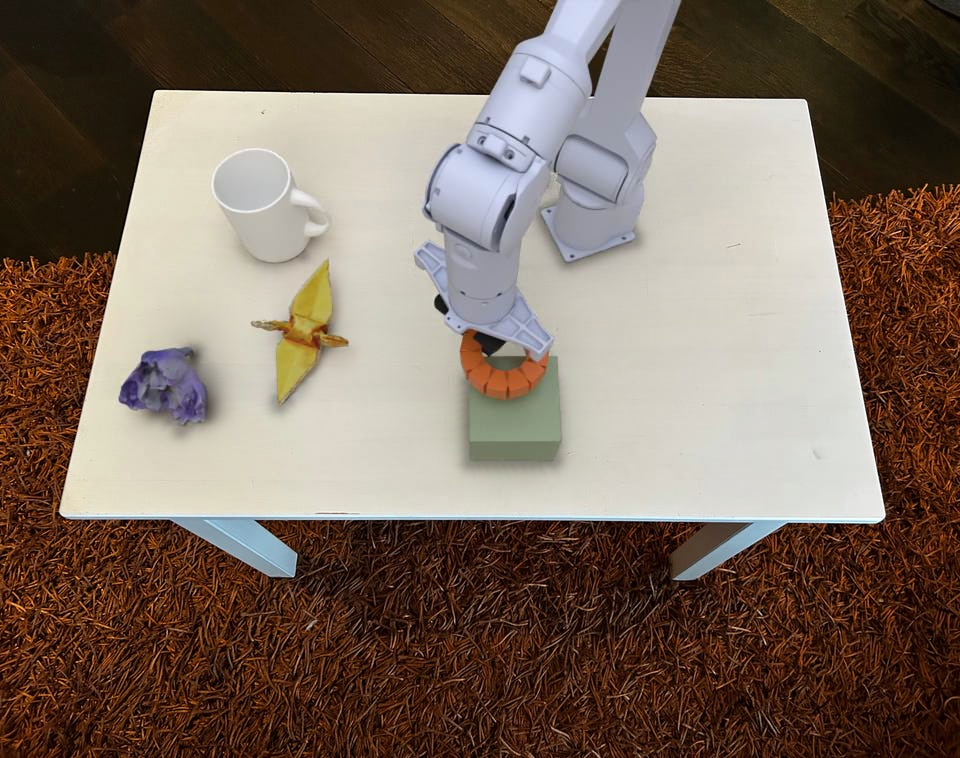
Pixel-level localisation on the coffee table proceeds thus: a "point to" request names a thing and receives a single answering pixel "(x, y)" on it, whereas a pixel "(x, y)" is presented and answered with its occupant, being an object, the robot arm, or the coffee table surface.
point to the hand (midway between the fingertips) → (481, 338)
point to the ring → (499, 371)
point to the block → (516, 418)
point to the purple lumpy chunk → (166, 385)
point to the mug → (265, 204)
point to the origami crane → (304, 331)
